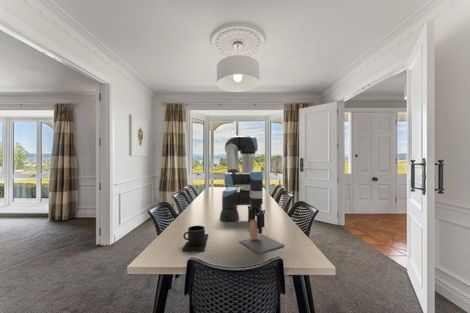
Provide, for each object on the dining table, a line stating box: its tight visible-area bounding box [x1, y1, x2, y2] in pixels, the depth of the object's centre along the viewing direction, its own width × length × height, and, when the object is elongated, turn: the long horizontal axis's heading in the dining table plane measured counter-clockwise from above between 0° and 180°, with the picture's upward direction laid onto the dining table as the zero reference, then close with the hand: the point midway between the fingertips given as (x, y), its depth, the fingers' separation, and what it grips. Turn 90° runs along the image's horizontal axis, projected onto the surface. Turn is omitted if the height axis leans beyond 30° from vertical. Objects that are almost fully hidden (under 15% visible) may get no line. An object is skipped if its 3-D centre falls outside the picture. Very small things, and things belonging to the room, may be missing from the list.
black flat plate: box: [181, 233, 209, 253], centre depth 131 cm, size 25×1×15 cm
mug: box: [183, 225, 206, 247], centre depth 129 cm, size 9×12×9 cm
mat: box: [239, 234, 285, 255], centre depth 128 cm, size 18×18×1 cm
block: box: [249, 218, 263, 240], centre depth 132 cm, size 5×5×10 cm
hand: (255, 236), depth 133 cm, fingers closed on block, 5 cm apart
